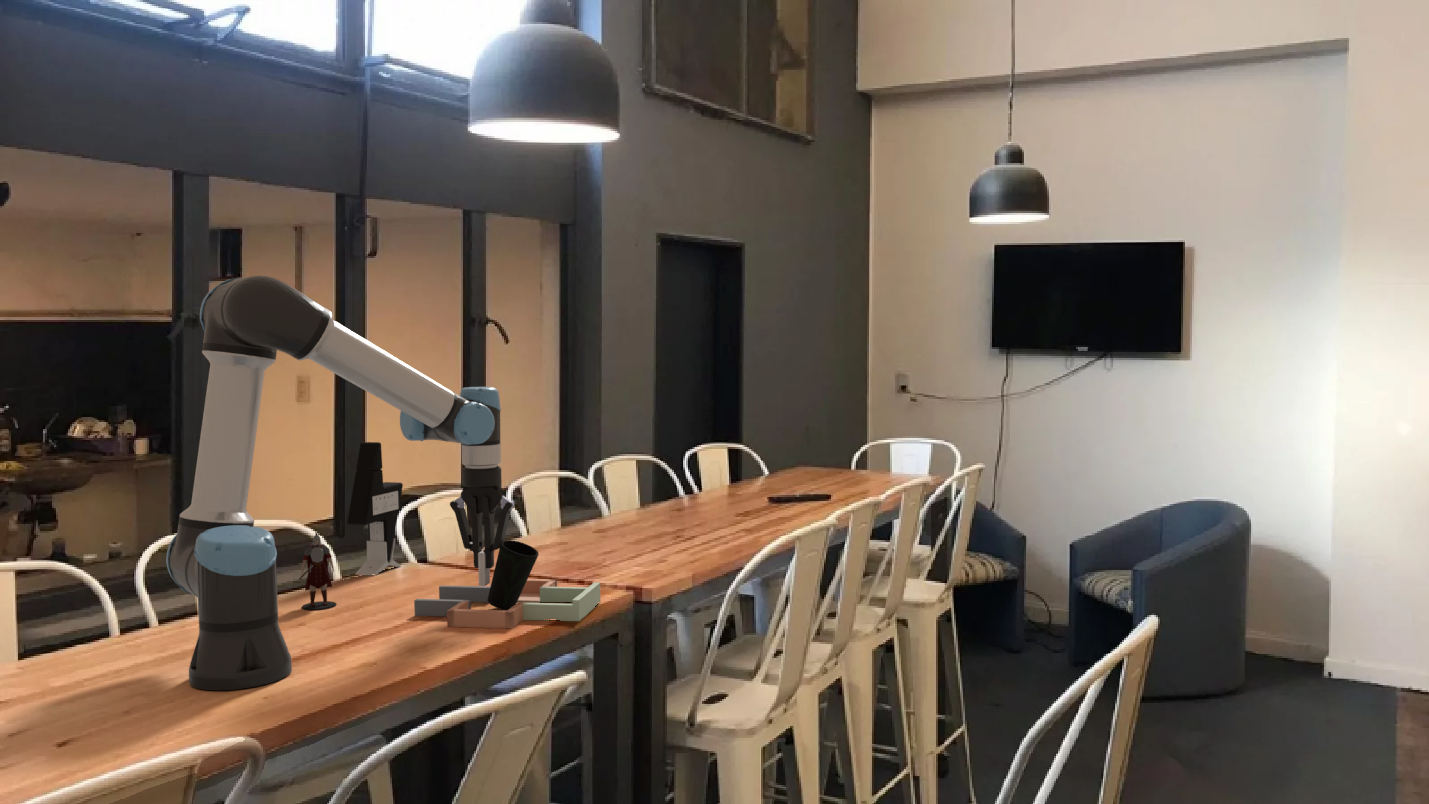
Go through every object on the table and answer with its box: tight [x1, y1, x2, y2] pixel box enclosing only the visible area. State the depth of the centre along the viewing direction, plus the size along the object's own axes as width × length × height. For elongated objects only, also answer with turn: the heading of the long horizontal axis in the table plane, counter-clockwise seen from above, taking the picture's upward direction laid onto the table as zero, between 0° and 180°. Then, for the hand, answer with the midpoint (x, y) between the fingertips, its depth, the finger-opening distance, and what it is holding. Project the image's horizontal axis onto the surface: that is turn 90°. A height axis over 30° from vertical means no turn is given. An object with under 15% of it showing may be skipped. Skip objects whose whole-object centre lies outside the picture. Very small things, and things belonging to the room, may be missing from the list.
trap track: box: [413, 578, 601, 629], centre depth 221 cm, size 33×28×4 cm
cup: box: [487, 539, 540, 610], centre depth 221 cm, size 8×8×12 cm
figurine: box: [298, 532, 337, 611], centre depth 227 cm, size 7×7×15 cm
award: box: [346, 441, 404, 577], centre depth 260 cm, size 15×5×30 cm, turn 161°
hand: (484, 584), depth 222 cm, fingers closed
